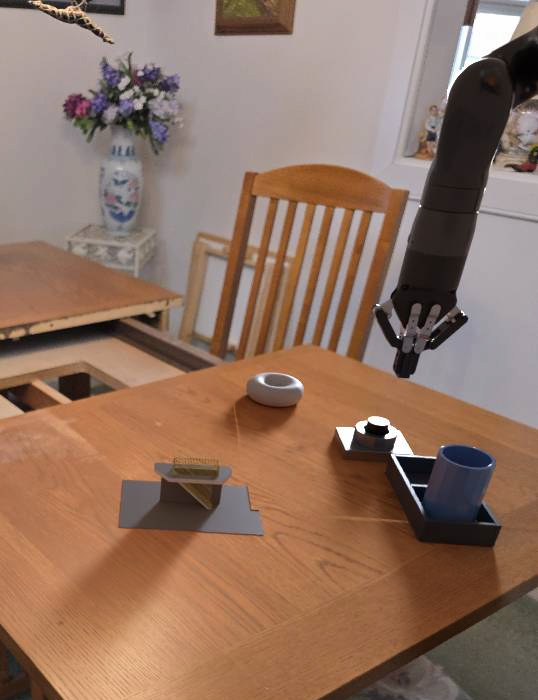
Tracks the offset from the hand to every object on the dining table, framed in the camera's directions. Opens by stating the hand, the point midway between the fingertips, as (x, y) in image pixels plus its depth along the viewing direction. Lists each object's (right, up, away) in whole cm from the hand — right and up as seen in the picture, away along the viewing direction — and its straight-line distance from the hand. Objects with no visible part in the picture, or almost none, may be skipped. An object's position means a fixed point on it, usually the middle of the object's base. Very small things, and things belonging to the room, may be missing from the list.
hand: (402, 376), depth 100 cm
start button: (-2, -7, +6) cm, 9 cm away
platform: (-31, -19, -8) cm, 37 cm away
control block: (-2, -9, +8) cm, 13 cm away
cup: (+2, -20, -9) cm, 23 cm away
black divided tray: (+2, -19, -5) cm, 20 cm away
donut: (-14, +1, +23) cm, 27 cm away
